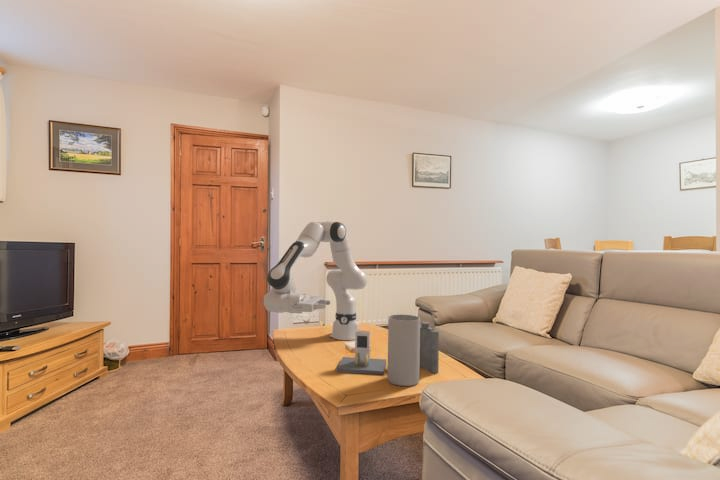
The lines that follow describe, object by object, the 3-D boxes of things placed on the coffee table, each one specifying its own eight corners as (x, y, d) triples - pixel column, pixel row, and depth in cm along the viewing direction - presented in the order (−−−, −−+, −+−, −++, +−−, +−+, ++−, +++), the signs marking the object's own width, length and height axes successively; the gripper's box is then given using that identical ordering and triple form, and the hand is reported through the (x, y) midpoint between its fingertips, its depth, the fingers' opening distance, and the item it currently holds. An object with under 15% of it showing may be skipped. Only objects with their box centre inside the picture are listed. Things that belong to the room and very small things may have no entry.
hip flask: (408, 363, 164) (409, 319, 164) (414, 362, 166) (415, 318, 167) (434, 374, 151) (435, 326, 151) (441, 372, 153) (442, 325, 154)
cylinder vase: (420, 376, 148) (421, 315, 148) (418, 388, 136) (419, 321, 136) (389, 373, 150) (390, 313, 151) (385, 385, 138) (386, 319, 139)
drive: (356, 361, 161) (356, 330, 161) (369, 362, 160) (370, 331, 160) (354, 364, 157) (355, 332, 157) (368, 365, 156) (369, 332, 156)
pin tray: (343, 360, 168) (343, 347, 168) (386, 362, 165) (386, 349, 165) (336, 372, 152) (336, 357, 152) (383, 375, 149) (384, 360, 149)
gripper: (290, 300, 155) (322, 301, 153) (304, 293, 175) (332, 294, 174) (290, 315, 155) (322, 316, 153) (304, 306, 175) (332, 307, 174)
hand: (327, 304), depth 164 cm, fingers open, 8 cm apart
